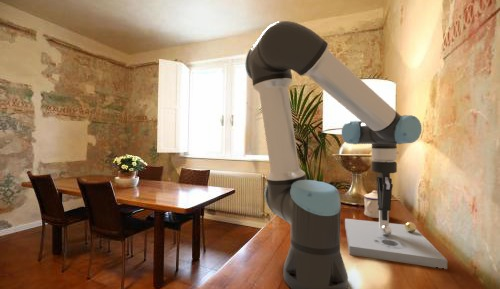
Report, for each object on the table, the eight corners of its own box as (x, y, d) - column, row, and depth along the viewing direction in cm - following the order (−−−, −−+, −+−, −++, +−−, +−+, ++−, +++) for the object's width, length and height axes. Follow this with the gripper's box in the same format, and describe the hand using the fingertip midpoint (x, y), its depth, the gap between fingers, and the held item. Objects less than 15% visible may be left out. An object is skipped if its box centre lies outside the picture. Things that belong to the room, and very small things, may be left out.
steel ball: (389, 223, 79) (390, 233, 79) (378, 223, 80) (379, 232, 80) (392, 227, 76) (393, 237, 76) (381, 226, 77) (381, 236, 77)
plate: (447, 269, 61) (447, 259, 61) (349, 254, 70) (349, 246, 70) (412, 232, 88) (412, 225, 88) (344, 224, 96) (344, 218, 96)
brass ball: (417, 234, 79) (417, 224, 79) (406, 233, 80) (406, 223, 80) (414, 230, 82) (414, 221, 82) (403, 229, 84) (403, 220, 84)
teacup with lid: (368, 211, 115) (369, 188, 115) (389, 216, 108) (389, 191, 108) (357, 216, 107) (357, 191, 107) (377, 221, 100) (378, 194, 100)
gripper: (402, 162, 73) (401, 237, 73) (391, 159, 85) (391, 223, 85) (375, 162, 75) (375, 234, 76) (369, 159, 88) (368, 221, 88)
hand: (383, 228), depth 80 cm, fingers closed
